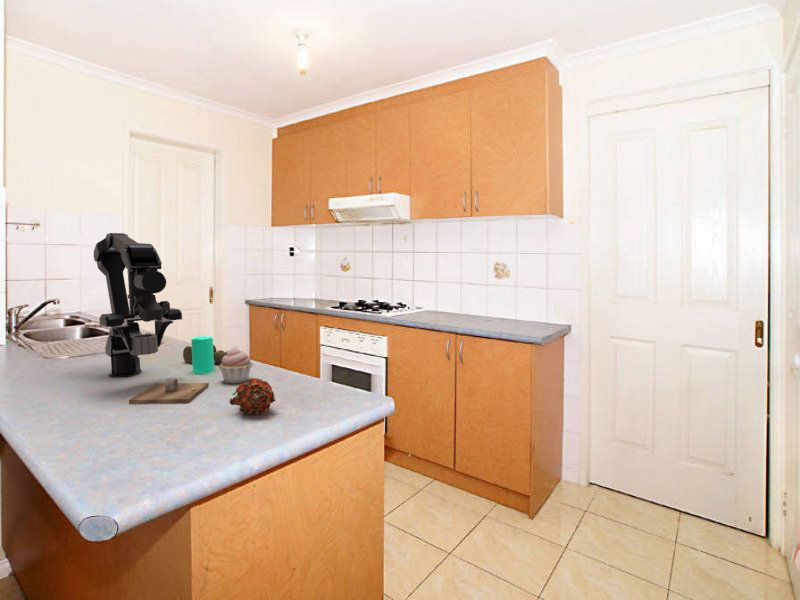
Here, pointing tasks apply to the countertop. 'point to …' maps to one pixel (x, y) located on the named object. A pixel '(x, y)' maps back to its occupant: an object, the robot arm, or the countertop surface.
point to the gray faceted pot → (144, 344)
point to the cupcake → (235, 366)
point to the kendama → (217, 355)
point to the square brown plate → (169, 392)
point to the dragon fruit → (253, 396)
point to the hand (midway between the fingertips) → (144, 348)
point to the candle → (202, 355)
